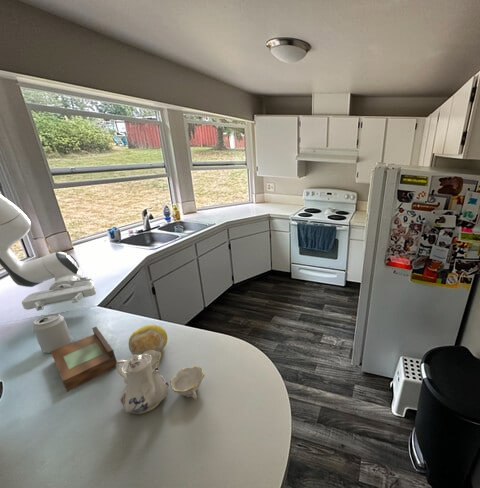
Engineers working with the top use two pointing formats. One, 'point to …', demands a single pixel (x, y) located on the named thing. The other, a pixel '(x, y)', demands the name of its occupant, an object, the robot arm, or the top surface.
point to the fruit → (147, 339)
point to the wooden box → (84, 359)
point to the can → (51, 332)
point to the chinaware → (153, 382)
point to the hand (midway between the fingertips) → (57, 304)
